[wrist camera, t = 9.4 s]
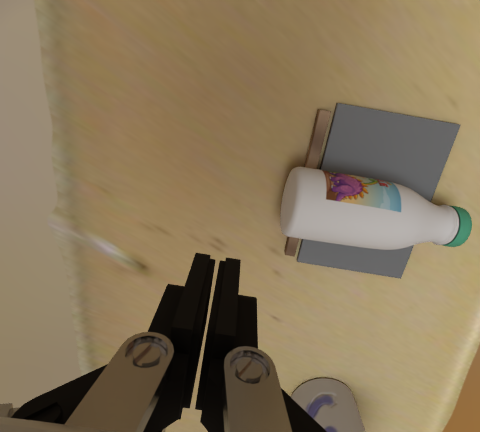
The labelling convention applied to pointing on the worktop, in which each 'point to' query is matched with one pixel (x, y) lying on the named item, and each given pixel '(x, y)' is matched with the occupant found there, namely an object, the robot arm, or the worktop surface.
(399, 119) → the mat
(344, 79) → the worktop surface
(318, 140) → the rail
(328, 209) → the milk bottle
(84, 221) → the worktop surface
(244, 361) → the robot arm
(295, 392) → the container
